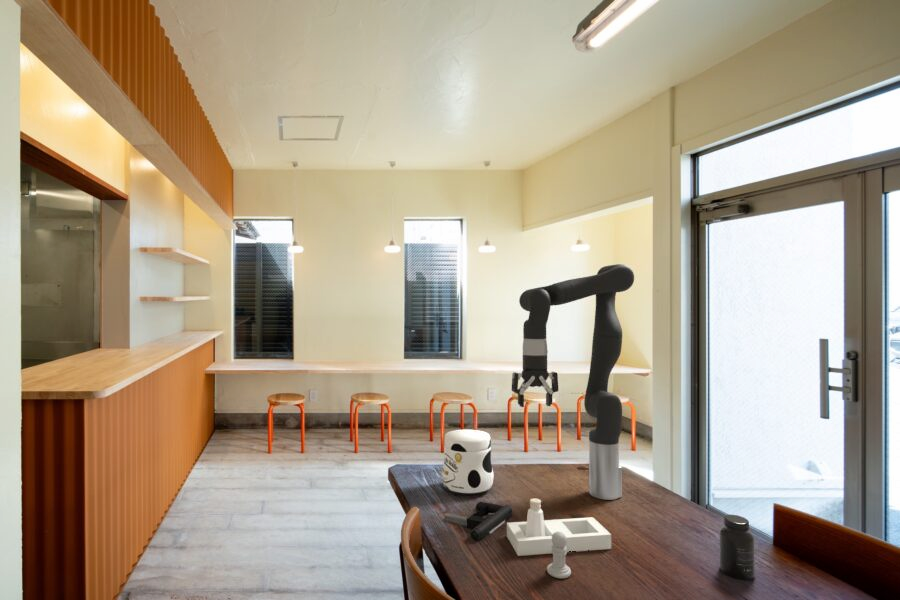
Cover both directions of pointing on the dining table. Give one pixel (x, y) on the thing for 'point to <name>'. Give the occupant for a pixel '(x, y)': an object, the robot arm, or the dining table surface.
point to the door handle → (482, 519)
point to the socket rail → (577, 532)
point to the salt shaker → (535, 519)
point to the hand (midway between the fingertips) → (535, 406)
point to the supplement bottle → (737, 548)
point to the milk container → (467, 462)
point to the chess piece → (559, 557)
